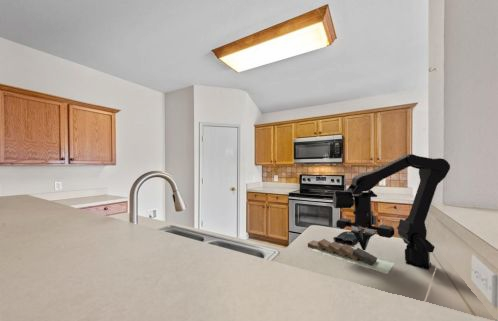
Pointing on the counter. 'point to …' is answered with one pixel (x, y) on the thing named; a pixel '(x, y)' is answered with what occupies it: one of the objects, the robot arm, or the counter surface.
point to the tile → (364, 256)
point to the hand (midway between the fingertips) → (364, 249)
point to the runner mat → (361, 261)
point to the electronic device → (346, 236)
